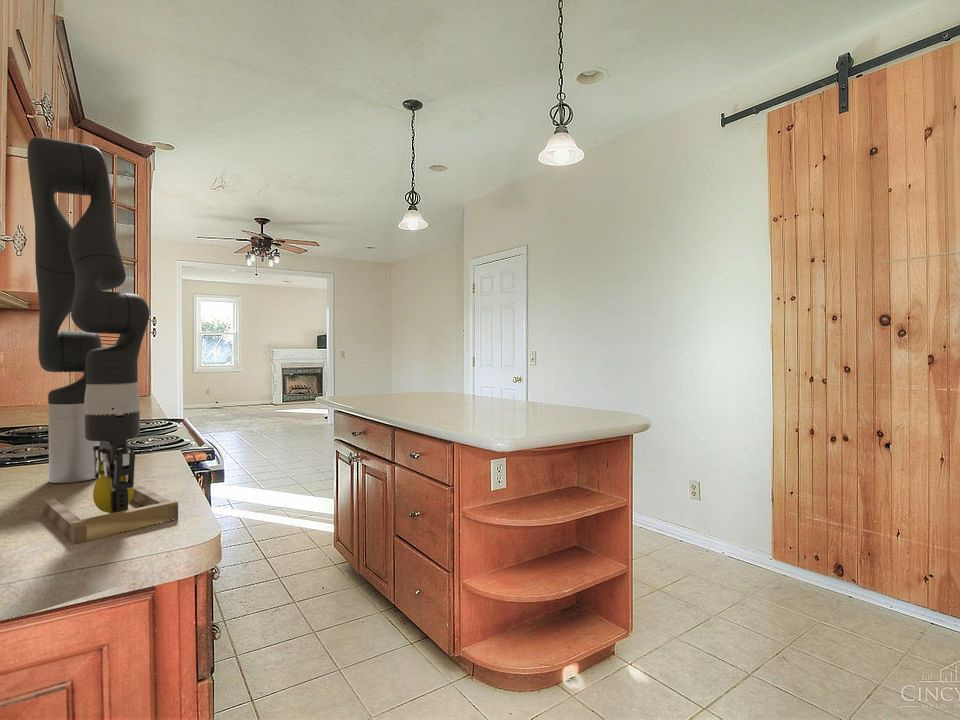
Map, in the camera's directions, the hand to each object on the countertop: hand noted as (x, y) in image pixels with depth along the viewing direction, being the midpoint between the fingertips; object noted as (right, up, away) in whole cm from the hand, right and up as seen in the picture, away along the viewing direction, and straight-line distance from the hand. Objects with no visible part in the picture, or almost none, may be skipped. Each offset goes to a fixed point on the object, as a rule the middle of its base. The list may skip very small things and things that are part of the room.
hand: (114, 508), depth 84 cm
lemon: (0, -1, 0) cm, 1 cm away
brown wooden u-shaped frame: (-2, -2, +2) cm, 3 cm away
